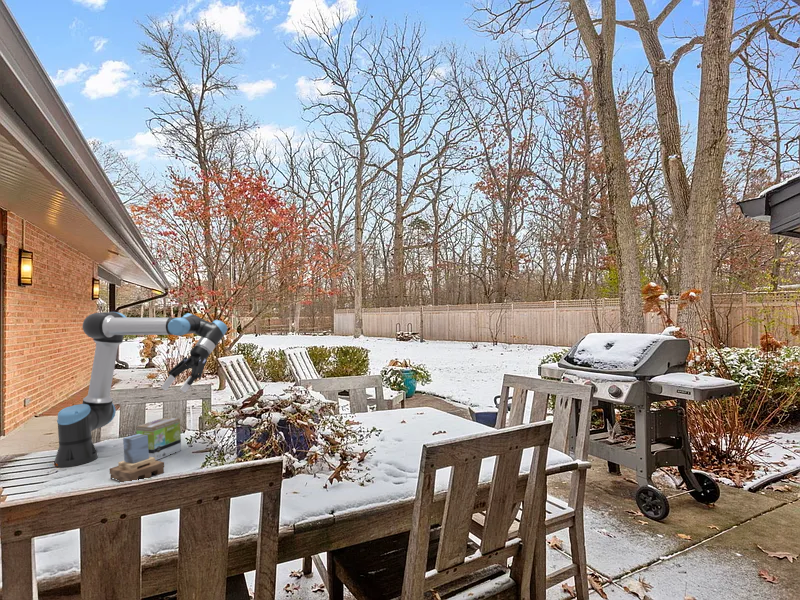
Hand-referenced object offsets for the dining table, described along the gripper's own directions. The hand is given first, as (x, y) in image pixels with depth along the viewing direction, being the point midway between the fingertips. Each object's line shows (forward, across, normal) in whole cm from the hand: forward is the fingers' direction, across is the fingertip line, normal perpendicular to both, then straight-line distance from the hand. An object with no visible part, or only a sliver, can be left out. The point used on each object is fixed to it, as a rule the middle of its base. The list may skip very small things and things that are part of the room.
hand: (172, 390), depth 195 cm
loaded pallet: (+31, -3, -5) cm, 31 cm away
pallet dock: (+34, -3, -8) cm, 35 cm away
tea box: (+20, +13, -21) cm, 32 cm away
